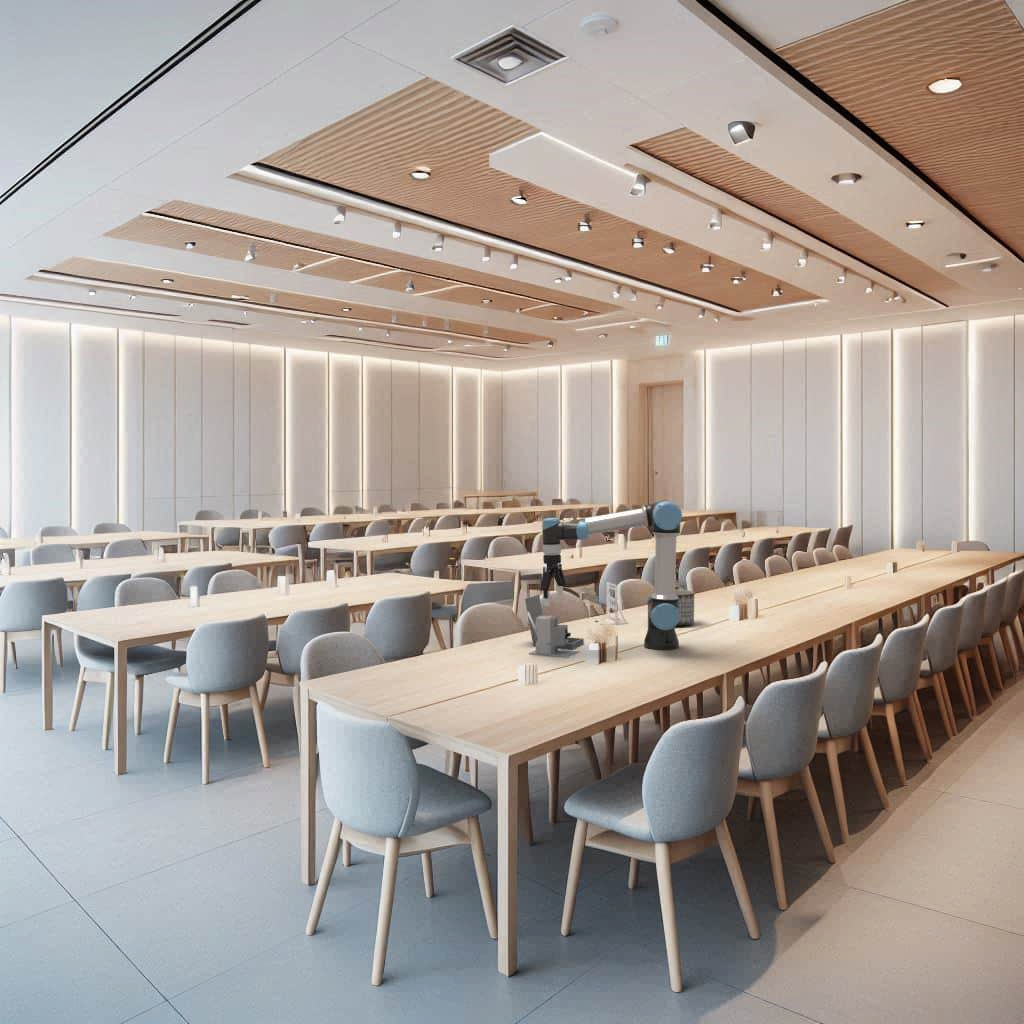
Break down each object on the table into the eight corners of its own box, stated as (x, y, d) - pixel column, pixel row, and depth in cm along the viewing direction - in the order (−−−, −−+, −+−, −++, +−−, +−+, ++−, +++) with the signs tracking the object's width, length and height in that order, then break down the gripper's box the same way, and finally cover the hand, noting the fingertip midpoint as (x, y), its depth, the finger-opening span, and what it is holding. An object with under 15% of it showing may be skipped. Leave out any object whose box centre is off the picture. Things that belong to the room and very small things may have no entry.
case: (583, 644, 384) (583, 597, 383) (571, 650, 372) (570, 601, 371) (538, 640, 395) (537, 594, 394) (524, 645, 382) (524, 598, 381)
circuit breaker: (568, 654, 361) (568, 619, 360) (535, 653, 364) (535, 618, 364) (571, 650, 368) (571, 616, 368) (539, 649, 372) (538, 615, 371)
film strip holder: (593, 620, 442) (592, 582, 441) (618, 619, 446) (617, 581, 445) (602, 625, 428) (602, 586, 428) (628, 624, 432) (628, 584, 431)
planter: (649, 626, 424) (649, 593, 424) (664, 620, 441) (663, 588, 440) (686, 629, 414) (686, 595, 413) (700, 623, 431) (699, 590, 430)
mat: (578, 652, 367) (578, 651, 367) (567, 657, 357) (567, 656, 357) (540, 648, 376) (540, 647, 376) (528, 654, 365) (528, 653, 365)
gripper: (556, 551, 377) (557, 598, 378) (531, 557, 355) (532, 607, 356) (571, 551, 374) (573, 599, 375) (547, 557, 351) (549, 608, 353)
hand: (553, 603), depth 365 cm, fingers open, 13 cm apart
